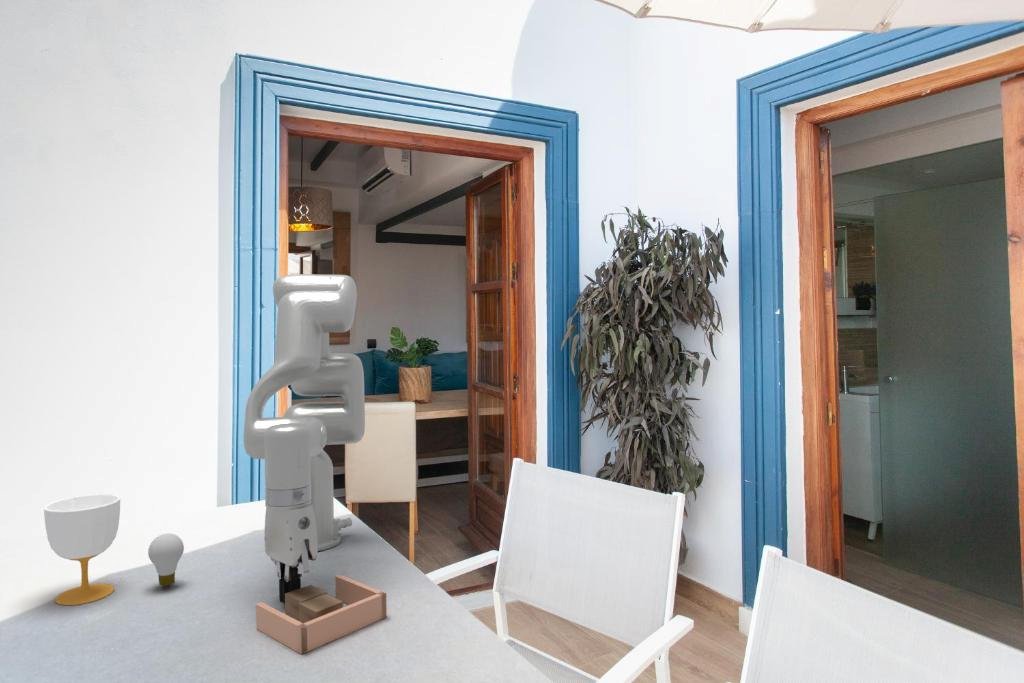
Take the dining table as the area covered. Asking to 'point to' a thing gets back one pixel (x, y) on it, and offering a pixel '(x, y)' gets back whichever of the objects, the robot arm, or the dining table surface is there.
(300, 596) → the walnut tile
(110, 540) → the cup
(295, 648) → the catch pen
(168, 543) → the light bulb
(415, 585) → the dining table surface
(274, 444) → the robot arm
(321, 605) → the walnut tile
